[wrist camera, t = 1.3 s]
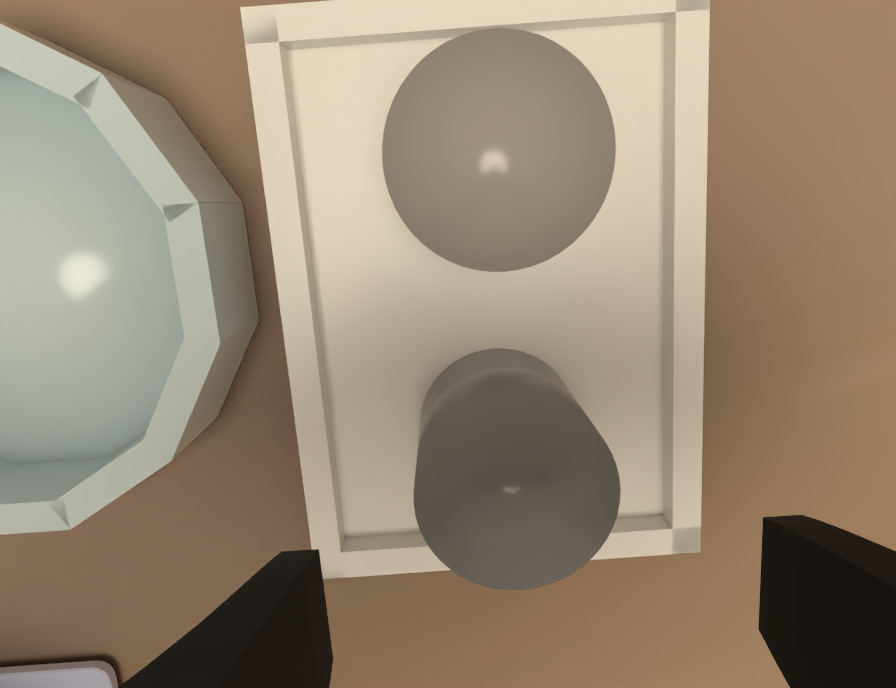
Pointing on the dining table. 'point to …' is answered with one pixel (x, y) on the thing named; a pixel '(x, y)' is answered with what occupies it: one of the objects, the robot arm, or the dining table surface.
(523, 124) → the grey rounded cylinder
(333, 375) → the parts tray
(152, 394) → the bowl
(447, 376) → the slate capsule
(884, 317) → the dining table surface
